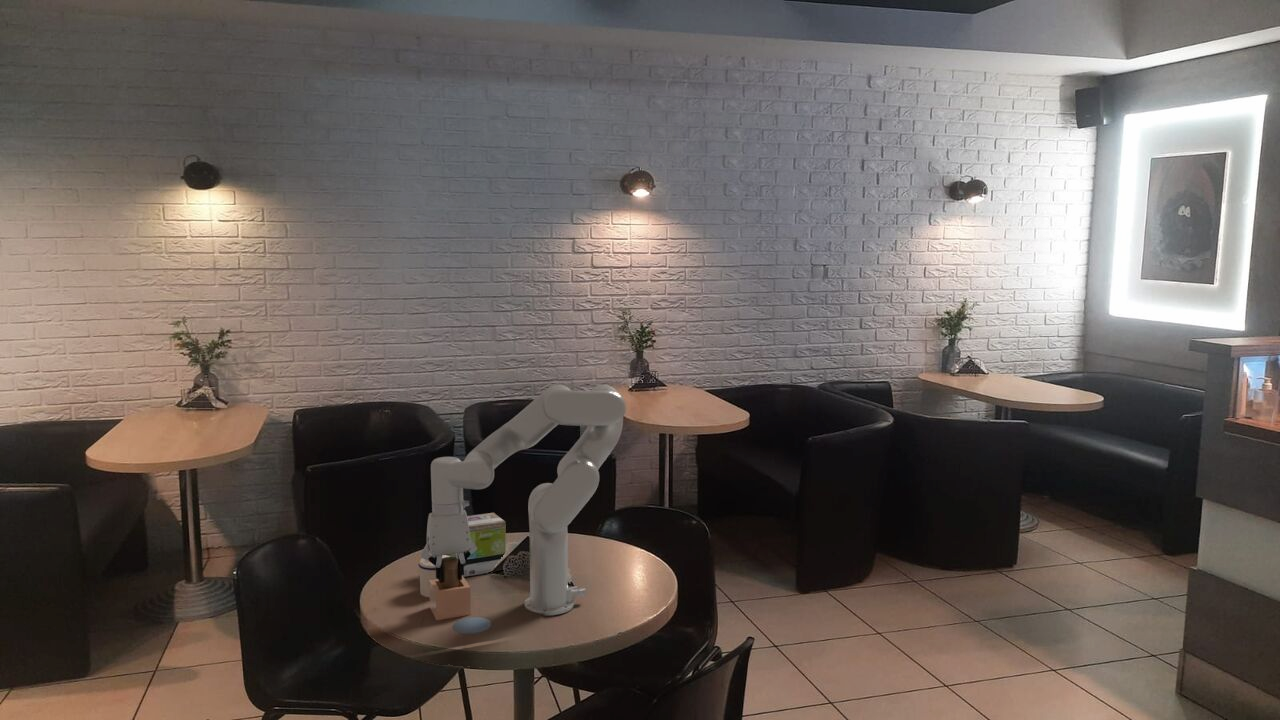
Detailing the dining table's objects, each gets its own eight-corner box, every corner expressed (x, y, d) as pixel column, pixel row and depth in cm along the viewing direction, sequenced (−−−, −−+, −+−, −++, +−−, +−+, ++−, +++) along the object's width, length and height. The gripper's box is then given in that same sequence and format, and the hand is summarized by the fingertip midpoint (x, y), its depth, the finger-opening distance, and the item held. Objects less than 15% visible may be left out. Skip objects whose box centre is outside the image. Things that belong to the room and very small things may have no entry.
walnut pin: (457, 605, 220) (455, 555, 218) (460, 611, 216) (459, 560, 215) (441, 608, 218) (439, 558, 217) (444, 614, 215) (442, 563, 213)
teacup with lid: (453, 599, 226) (452, 556, 225) (417, 601, 225) (416, 558, 224) (456, 582, 238) (455, 541, 237) (422, 584, 237) (421, 542, 235)
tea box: (455, 580, 240) (453, 528, 238) (443, 569, 248) (442, 518, 246) (506, 570, 247) (505, 520, 245) (494, 559, 256) (493, 510, 254)
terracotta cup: (463, 604, 223) (462, 575, 222) (470, 617, 215) (470, 587, 214) (429, 610, 220) (429, 580, 219) (436, 623, 212) (435, 592, 211)
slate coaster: (485, 618, 215) (485, 614, 215) (495, 632, 207) (495, 629, 207) (449, 624, 212) (449, 621, 211) (457, 639, 203) (457, 636, 203)
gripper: (477, 499, 221) (479, 569, 223) (410, 508, 214) (413, 579, 216) (485, 507, 214) (487, 579, 216) (415, 516, 207) (418, 590, 210)
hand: (450, 578), depth 216 cm, fingers closed on walnut pin, 4 cm apart
